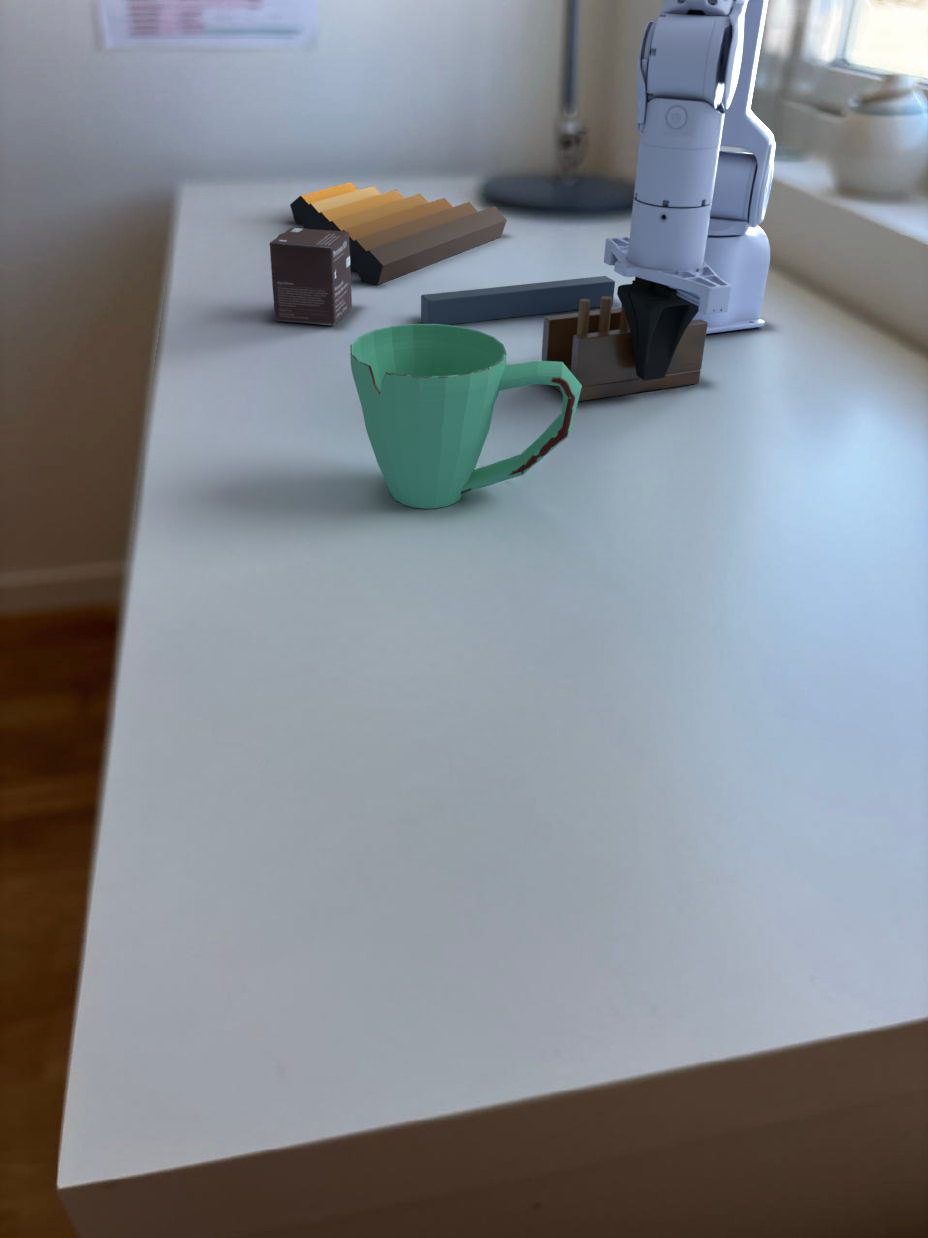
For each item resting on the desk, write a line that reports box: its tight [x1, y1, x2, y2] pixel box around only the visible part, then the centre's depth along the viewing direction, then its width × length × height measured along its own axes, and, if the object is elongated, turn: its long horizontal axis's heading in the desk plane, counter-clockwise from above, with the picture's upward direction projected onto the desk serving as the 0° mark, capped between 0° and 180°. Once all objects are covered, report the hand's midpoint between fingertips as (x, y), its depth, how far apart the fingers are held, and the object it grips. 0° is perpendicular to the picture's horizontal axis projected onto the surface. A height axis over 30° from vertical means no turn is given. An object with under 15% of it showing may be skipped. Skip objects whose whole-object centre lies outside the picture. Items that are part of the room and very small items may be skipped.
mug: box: [349, 323, 582, 510], centre depth 71 cm, size 15×10×10 cm
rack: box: [540, 296, 708, 402], centre depth 90 cm, size 12×6×7 cm, turn 114°
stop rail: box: [420, 275, 616, 325], centre depth 106 cm, size 20×2×2 cm, turn 114°
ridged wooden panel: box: [289, 181, 508, 286], centre depth 127 cm, size 25×3×25 cm
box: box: [269, 227, 353, 326], centre depth 103 cm, size 6×6×7 cm
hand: (650, 376), depth 88 cm, fingers closed
